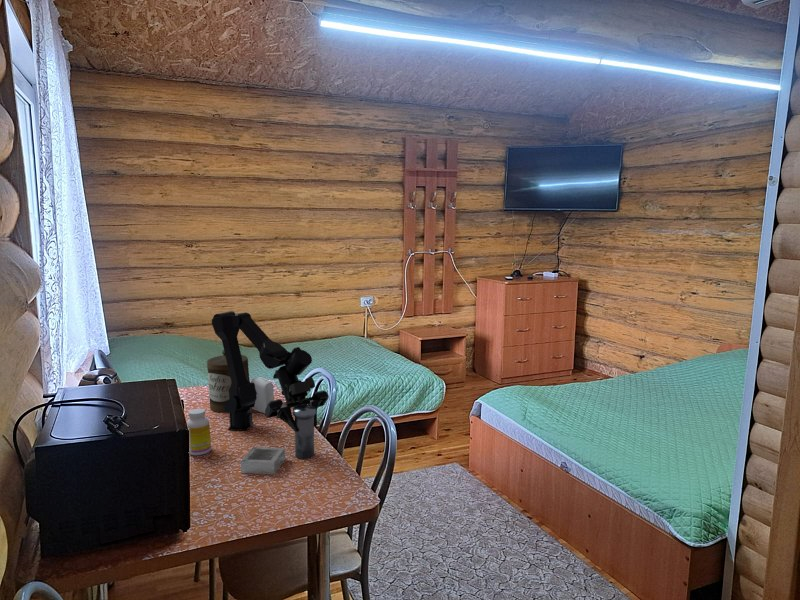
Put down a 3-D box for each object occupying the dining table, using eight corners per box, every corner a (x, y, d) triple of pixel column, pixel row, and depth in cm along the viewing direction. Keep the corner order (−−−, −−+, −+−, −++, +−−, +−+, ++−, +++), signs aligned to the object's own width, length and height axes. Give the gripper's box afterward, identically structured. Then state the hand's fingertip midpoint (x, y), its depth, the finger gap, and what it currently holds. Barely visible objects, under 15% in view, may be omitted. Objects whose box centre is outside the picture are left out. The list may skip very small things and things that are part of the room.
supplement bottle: (215, 451, 172) (212, 410, 170) (194, 458, 167) (191, 416, 165) (204, 445, 176) (201, 405, 174) (184, 451, 172) (181, 411, 170)
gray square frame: (241, 473, 157) (240, 461, 157) (253, 458, 167) (253, 446, 166) (274, 474, 156) (274, 462, 156) (285, 459, 166) (284, 448, 165)
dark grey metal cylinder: (290, 459, 165) (289, 412, 163) (297, 449, 172) (296, 404, 169) (312, 460, 165) (312, 413, 162) (318, 450, 171) (318, 405, 168)
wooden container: (201, 410, 208) (197, 352, 204) (228, 397, 221) (224, 343, 218) (233, 415, 202) (230, 355, 199) (259, 402, 216) (256, 346, 212)
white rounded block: (250, 409, 208) (248, 376, 206) (259, 406, 211) (258, 374, 209) (266, 415, 201) (264, 382, 199) (276, 412, 204) (274, 379, 203)
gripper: (266, 375, 162) (283, 423, 155) (325, 364, 172) (343, 409, 165) (258, 394, 170) (273, 441, 163) (315, 383, 180) (331, 426, 173)
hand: (306, 429), depth 166 cm, fingers closed on dark grey metal cylinder, 6 cm apart
